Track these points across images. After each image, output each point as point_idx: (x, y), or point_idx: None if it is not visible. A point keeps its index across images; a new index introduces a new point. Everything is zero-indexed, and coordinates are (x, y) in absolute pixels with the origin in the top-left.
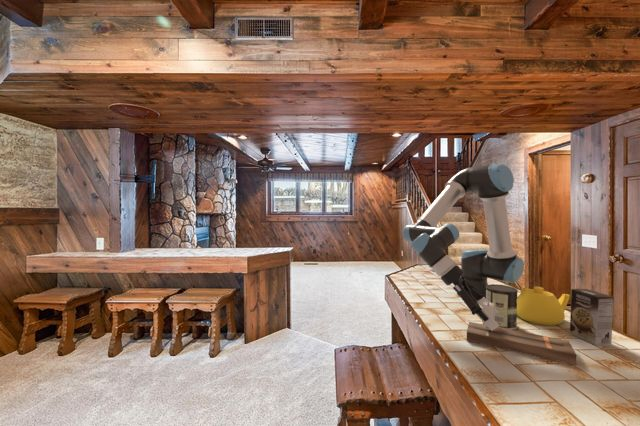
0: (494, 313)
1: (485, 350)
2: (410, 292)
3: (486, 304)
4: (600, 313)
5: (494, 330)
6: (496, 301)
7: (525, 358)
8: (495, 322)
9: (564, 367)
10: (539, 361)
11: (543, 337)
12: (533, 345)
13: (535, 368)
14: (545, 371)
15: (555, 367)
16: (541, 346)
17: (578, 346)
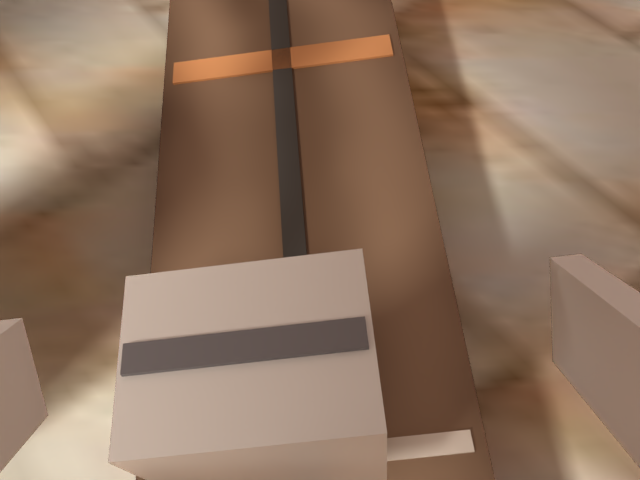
0: (26, 372)
1: (603, 459)
2: None
3: (296, 377)
4: None
5: None
6: None
7: (501, 196)
8: (607, 271)
9: (458, 43)
10: (480, 133)
11: (204, 77)
12: (411, 115)
13: (611, 144)
14: (603, 105)
15: (497, 72)
16: (391, 79)
17: (101, 6)
